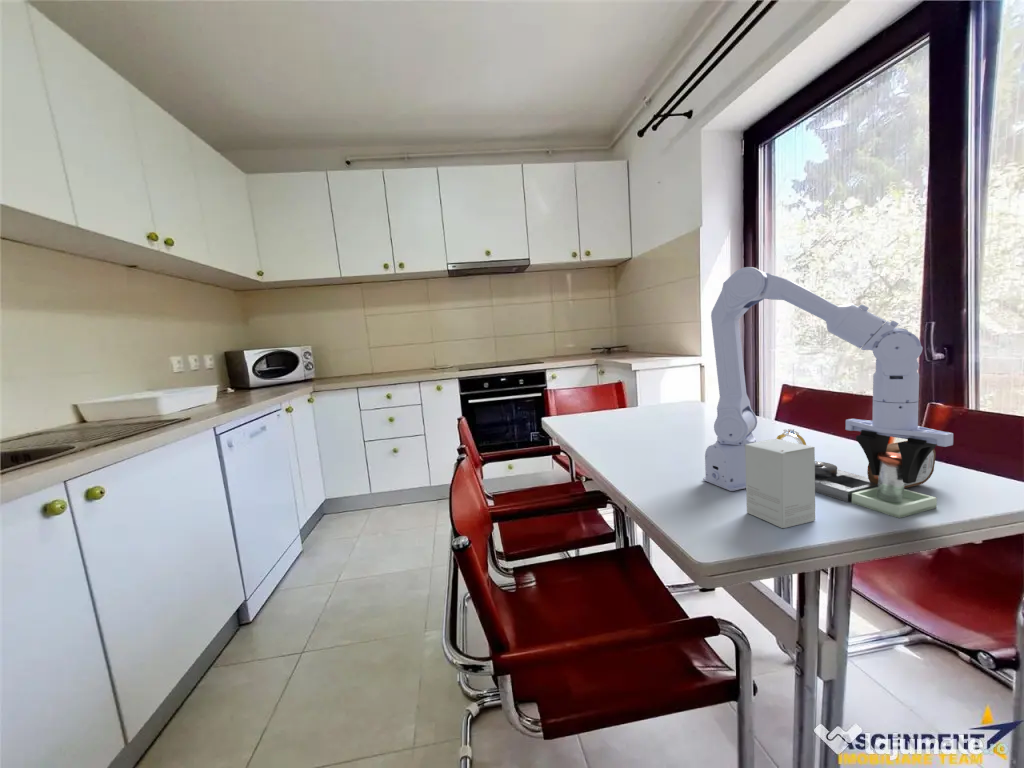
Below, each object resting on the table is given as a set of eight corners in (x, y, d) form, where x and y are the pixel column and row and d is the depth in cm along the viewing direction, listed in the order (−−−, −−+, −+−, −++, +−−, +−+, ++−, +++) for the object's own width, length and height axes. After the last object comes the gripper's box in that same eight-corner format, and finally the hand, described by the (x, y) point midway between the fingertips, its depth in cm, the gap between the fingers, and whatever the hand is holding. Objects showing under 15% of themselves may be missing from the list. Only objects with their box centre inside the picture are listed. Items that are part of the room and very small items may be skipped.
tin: (919, 477, 82) (920, 436, 81) (939, 482, 79) (940, 439, 78) (865, 490, 78) (865, 446, 77) (884, 496, 75) (884, 450, 74)
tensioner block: (847, 502, 75) (847, 479, 74) (786, 482, 86) (786, 462, 86) (886, 492, 78) (886, 471, 77) (821, 474, 89) (821, 455, 89)
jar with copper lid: (894, 505, 70) (899, 461, 69) (867, 495, 74) (871, 454, 73) (911, 501, 71) (917, 458, 70) (884, 491, 75) (888, 450, 74)
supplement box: (817, 521, 69) (817, 446, 67) (782, 529, 67) (781, 453, 65) (777, 505, 76) (776, 437, 74) (744, 512, 74) (743, 443, 72)
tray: (899, 518, 68) (899, 507, 67) (851, 502, 74) (851, 493, 74) (936, 507, 70) (936, 497, 70) (887, 493, 77) (887, 484, 77)
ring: (773, 459, 101) (772, 427, 100) (784, 458, 102) (784, 426, 101) (797, 467, 94) (797, 433, 93) (809, 466, 95) (809, 431, 94)
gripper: (967, 402, 65) (964, 487, 66) (864, 393, 78) (863, 463, 80) (937, 408, 63) (934, 494, 64) (837, 397, 76) (836, 469, 78)
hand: (893, 478), depth 72 cm, fingers closed on jar with copper lid, 4 cm apart
